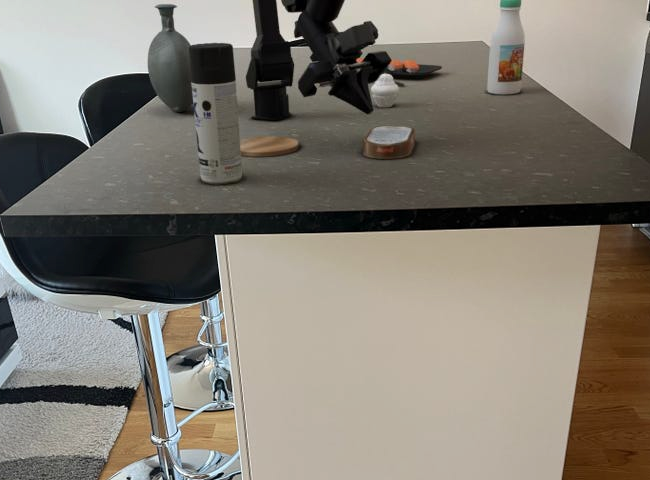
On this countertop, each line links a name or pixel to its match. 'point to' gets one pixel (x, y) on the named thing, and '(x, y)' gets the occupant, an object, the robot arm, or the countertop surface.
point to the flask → (170, 63)
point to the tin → (389, 142)
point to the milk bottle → (506, 51)
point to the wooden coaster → (267, 146)
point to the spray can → (216, 112)
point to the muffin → (384, 91)
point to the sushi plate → (405, 70)
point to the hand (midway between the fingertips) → (370, 112)
